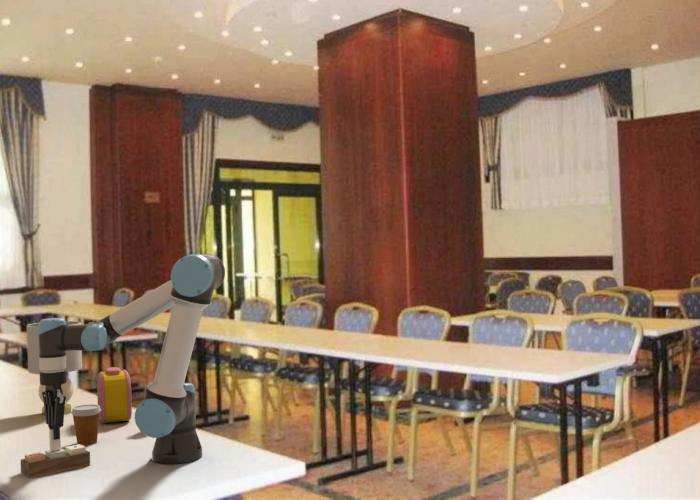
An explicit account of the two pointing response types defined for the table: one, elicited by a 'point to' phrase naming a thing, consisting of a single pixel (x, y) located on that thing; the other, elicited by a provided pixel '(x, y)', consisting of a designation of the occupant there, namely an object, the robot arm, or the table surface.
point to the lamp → (71, 365)
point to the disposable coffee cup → (86, 423)
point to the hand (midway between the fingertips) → (55, 449)
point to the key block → (55, 464)
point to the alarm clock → (114, 395)
